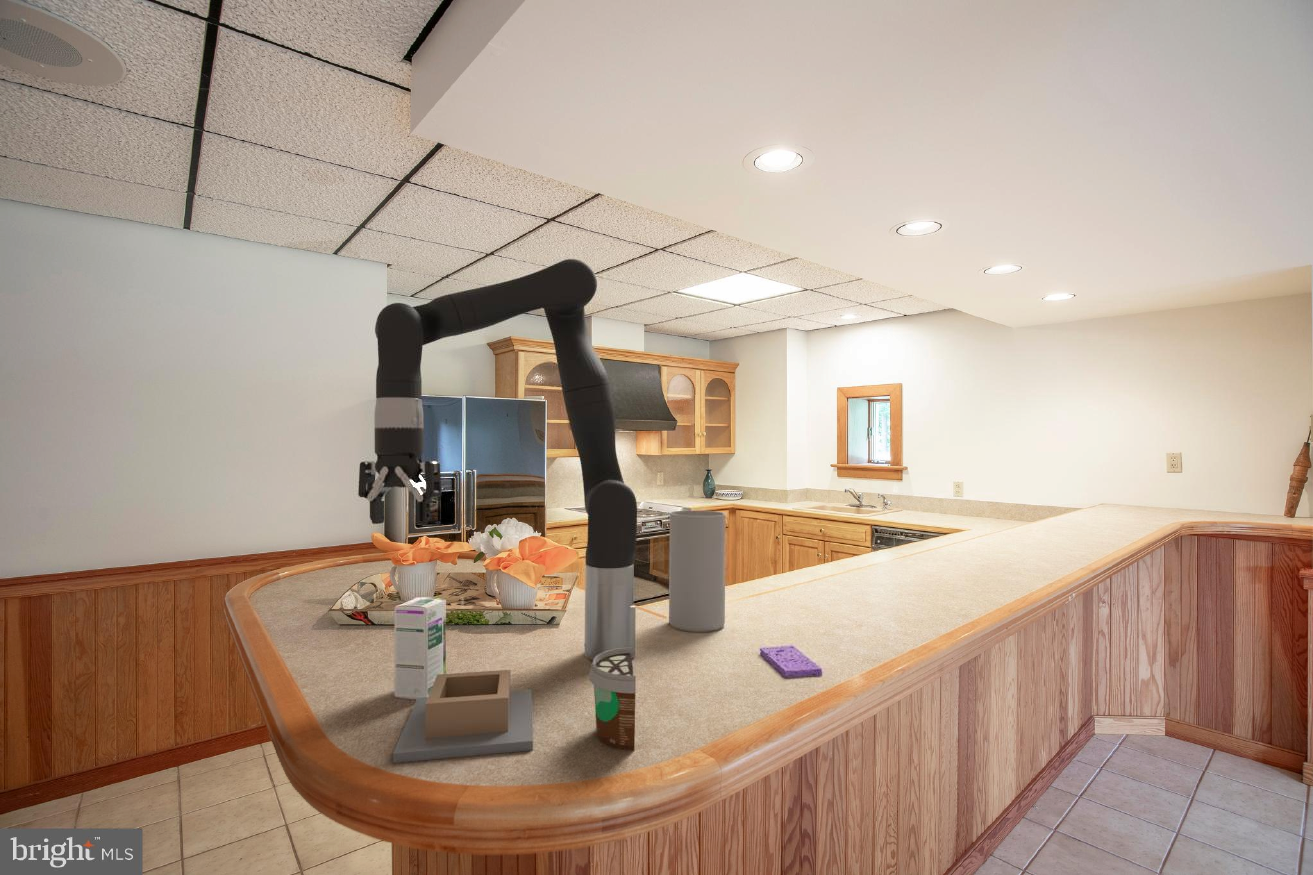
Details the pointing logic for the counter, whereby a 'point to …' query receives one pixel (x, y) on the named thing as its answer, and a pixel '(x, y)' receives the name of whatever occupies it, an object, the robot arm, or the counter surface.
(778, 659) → the sponges
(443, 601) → the syrup box
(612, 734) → the food container
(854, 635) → the counter surface
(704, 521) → the cylinder vase
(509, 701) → the socket holder
